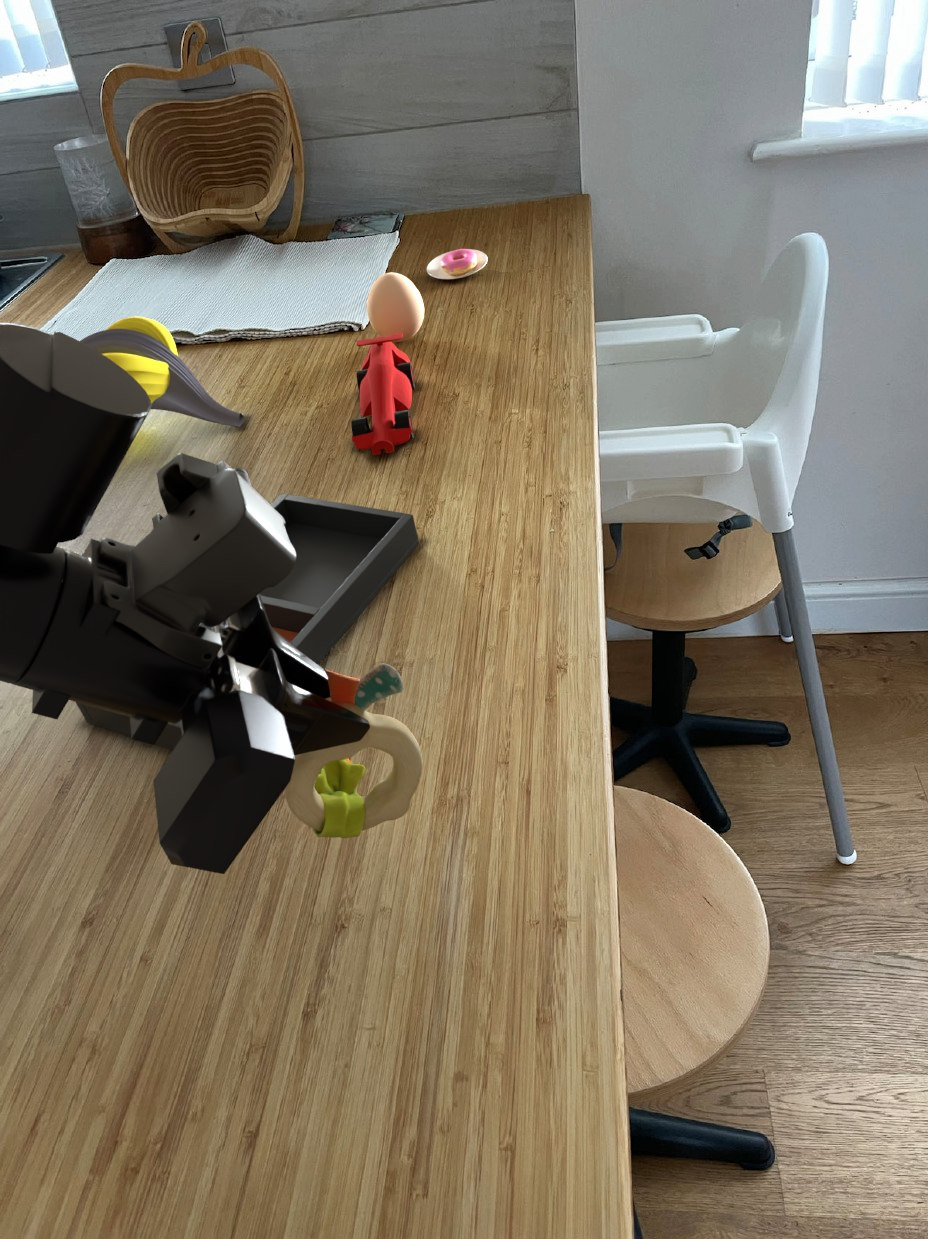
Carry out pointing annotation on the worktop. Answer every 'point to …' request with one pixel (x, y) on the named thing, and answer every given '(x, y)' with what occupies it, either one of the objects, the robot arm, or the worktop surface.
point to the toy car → (384, 396)
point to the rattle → (331, 778)
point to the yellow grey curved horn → (159, 369)
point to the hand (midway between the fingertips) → (360, 718)
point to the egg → (395, 306)
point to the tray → (317, 581)
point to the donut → (457, 264)
